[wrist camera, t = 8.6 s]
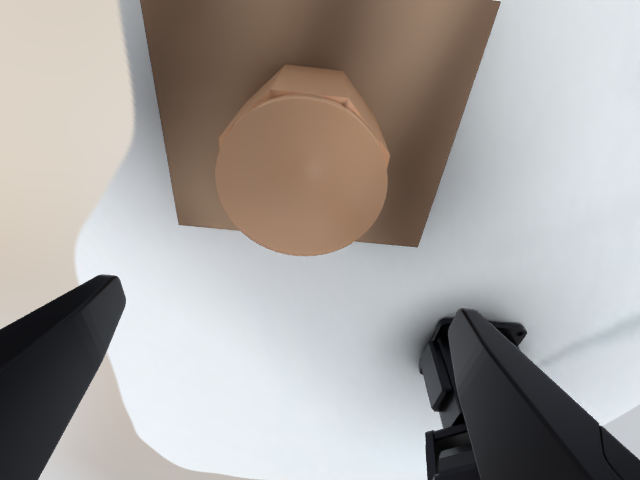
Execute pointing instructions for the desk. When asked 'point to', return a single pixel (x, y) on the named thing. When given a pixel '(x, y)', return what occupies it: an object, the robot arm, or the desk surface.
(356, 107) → the cap
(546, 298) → the desk surface
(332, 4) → the post board
